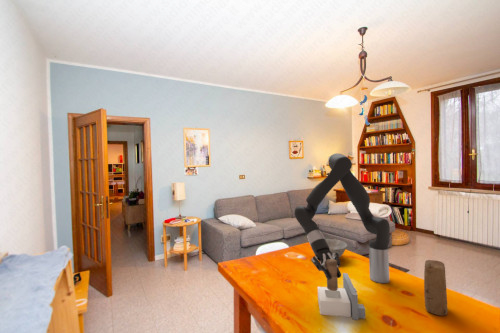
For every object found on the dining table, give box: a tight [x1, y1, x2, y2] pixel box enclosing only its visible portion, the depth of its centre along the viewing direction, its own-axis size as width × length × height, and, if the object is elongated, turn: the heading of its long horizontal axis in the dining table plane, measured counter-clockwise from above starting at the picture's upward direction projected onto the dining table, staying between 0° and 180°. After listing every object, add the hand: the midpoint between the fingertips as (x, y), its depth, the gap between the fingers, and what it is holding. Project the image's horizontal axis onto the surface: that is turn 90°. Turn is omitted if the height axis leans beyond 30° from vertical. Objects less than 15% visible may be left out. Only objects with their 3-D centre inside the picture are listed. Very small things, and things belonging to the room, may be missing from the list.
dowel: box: [326, 259, 339, 291], centre depth 106 cm, size 4×4×12 cm
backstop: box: [342, 272, 366, 321], centre depth 106 cm, size 20×5×10 cm, turn 169°
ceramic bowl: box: [325, 238, 348, 259], centre depth 162 cm, size 22×23×10 cm
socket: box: [317, 286, 352, 318], centre depth 106 cm, size 12×12×6 cm
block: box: [423, 259, 448, 317], centre depth 102 cm, size 11×8×20 cm
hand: (334, 277), depth 104 cm, fingers closed on dowel, 4 cm apart
